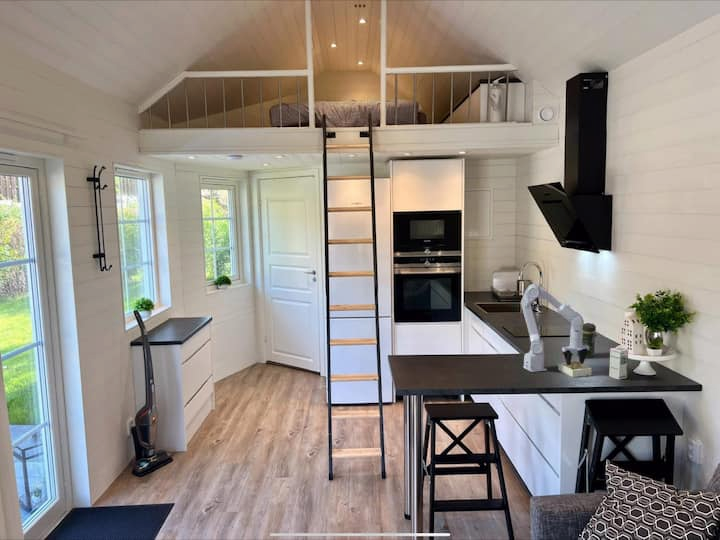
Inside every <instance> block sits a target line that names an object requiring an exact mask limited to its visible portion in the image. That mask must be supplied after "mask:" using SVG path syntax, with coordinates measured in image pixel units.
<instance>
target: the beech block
mask: <svg viewBox="0 0 720 540" xmlns="http://www.w3.org/2000/svg"><path fill="white" fill-rule="evenodd" d="M569 368H571V369H573V370H575V369H581V363H580V362H579V360H578V361H577V360H571V365H570V366H569Z"/></svg>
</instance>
